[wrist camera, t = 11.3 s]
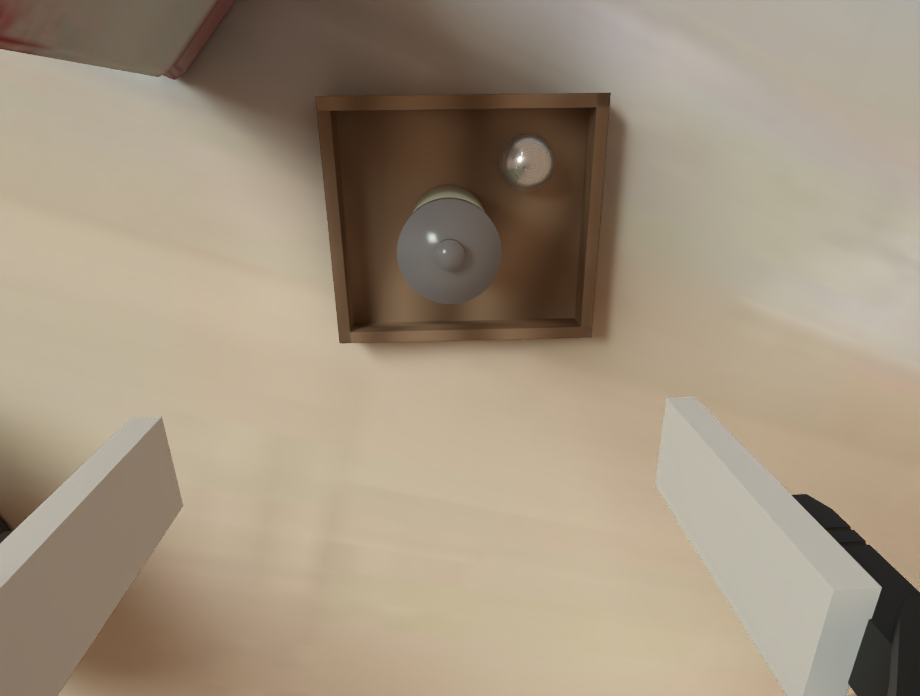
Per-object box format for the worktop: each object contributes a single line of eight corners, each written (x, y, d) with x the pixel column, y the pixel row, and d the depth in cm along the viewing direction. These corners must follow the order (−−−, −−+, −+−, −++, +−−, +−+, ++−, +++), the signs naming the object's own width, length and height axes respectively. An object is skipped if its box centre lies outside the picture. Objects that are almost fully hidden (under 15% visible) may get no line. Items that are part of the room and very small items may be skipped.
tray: (345, 331, 42) (339, 343, 40) (323, 98, 36) (315, 96, 34) (583, 325, 42) (591, 337, 40) (599, 95, 37) (610, 92, 34)
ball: (495, 189, 38) (501, 195, 35) (496, 132, 37) (502, 133, 33) (548, 188, 38) (558, 194, 35) (550, 131, 37) (562, 132, 34)
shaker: (410, 262, 40) (398, 308, 30) (407, 182, 38) (393, 202, 28) (488, 261, 40) (501, 306, 30) (488, 181, 38) (504, 200, 28)
